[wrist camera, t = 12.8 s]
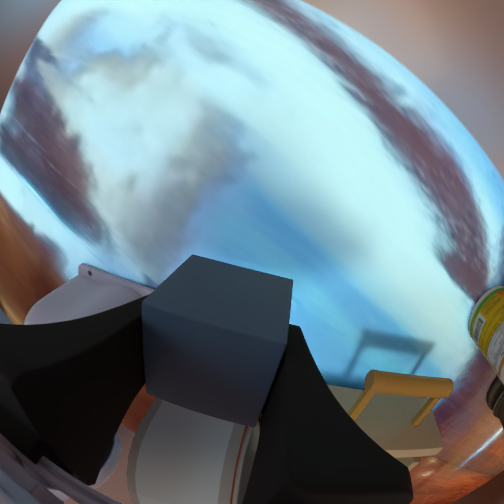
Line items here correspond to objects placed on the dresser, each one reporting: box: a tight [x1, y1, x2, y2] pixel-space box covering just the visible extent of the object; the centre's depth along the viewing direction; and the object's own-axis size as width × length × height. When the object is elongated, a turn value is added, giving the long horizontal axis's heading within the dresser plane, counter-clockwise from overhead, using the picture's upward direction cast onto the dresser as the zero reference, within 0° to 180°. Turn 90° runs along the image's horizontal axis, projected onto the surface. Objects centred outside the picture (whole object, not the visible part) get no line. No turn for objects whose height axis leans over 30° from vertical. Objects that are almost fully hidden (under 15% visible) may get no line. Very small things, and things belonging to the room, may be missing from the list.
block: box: [142, 255, 293, 428], centre depth 9 cm, size 4×4×4 cm
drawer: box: [327, 370, 453, 471], centre depth 18 cm, size 18×11×6 cm, turn 168°
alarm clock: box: [127, 398, 260, 504], centre depth 19 cm, size 15×8×14 cm, turn 3°
